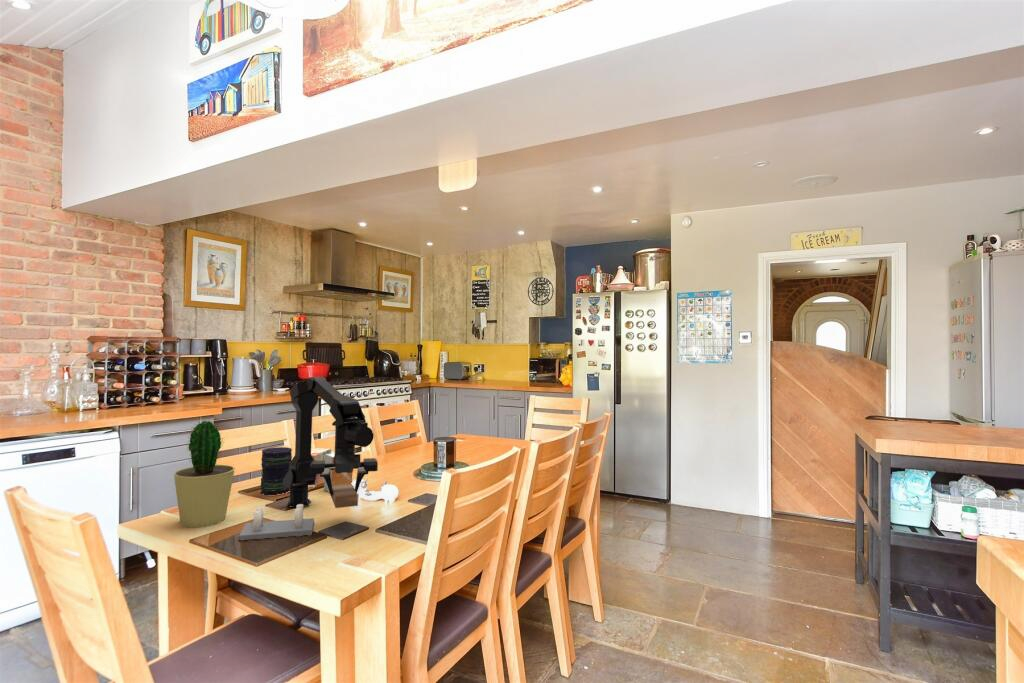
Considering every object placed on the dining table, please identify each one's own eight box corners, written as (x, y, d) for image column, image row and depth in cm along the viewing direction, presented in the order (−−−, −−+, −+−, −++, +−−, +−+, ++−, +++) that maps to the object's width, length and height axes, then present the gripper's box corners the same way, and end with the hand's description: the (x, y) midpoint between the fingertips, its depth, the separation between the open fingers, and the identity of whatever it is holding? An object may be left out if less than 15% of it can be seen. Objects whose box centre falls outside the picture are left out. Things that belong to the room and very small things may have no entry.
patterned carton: (327, 473, 207) (328, 443, 207) (341, 474, 206) (342, 444, 206) (297, 487, 186) (299, 453, 186) (313, 488, 185) (314, 454, 185)
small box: (331, 493, 178) (332, 456, 178) (323, 489, 183) (324, 454, 183) (352, 489, 184) (353, 454, 184) (344, 486, 188) (345, 451, 189)
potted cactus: (241, 520, 148) (244, 419, 149) (181, 534, 137) (185, 424, 138) (223, 508, 159) (226, 414, 159) (165, 520, 147) (169, 418, 148)
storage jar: (271, 487, 184) (272, 446, 184) (296, 489, 183) (297, 447, 183) (254, 495, 174) (255, 451, 175) (280, 496, 173) (281, 453, 173)
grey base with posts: (246, 528, 142) (246, 505, 143) (314, 523, 148) (314, 500, 148) (238, 541, 133) (239, 516, 133) (311, 535, 139) (312, 511, 139)
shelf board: (330, 494, 153) (330, 484, 153) (350, 492, 155) (351, 482, 155) (335, 508, 140) (335, 497, 140) (357, 505, 143) (358, 495, 143)
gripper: (309, 448, 137) (307, 506, 137) (379, 446, 143) (377, 501, 143) (311, 441, 148) (310, 494, 148) (377, 439, 154) (375, 490, 154)
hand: (343, 495), depth 148 cm, fingers closed on shelf board, 6 cm apart
